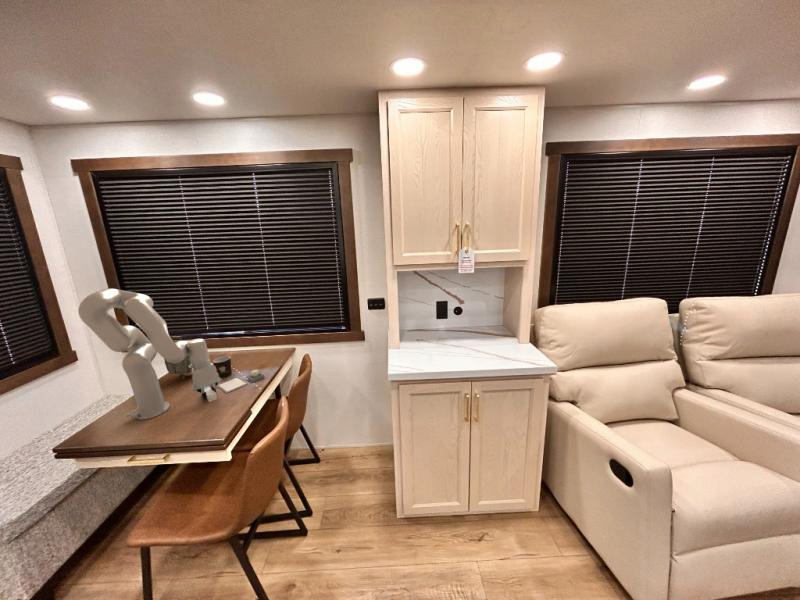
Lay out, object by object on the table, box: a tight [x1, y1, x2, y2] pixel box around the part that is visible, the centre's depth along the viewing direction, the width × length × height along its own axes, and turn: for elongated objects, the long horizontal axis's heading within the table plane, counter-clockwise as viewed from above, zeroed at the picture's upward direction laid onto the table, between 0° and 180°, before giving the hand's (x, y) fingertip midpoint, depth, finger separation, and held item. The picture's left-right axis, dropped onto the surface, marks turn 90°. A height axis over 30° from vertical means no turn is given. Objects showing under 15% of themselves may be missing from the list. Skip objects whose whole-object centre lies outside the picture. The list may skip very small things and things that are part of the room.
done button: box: [250, 369, 260, 378], centre depth 168 cm, size 4×4×3 cm
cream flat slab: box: [216, 377, 249, 395], centre depth 163 cm, size 11×13×1 cm
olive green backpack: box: [163, 336, 192, 380], centre depth 174 cm, size 14×9×25 cm, turn 84°
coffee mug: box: [212, 355, 233, 379], centre depth 175 cm, size 12×9×10 cm
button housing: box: [246, 371, 265, 383], centre depth 169 cm, size 6×6×2 cm
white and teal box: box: [204, 385, 218, 403], centre depth 153 cm, size 4×11×4 cm, turn 50°
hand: (209, 396), depth 153 cm, fingers closed on white and teal box, 3 cm apart
